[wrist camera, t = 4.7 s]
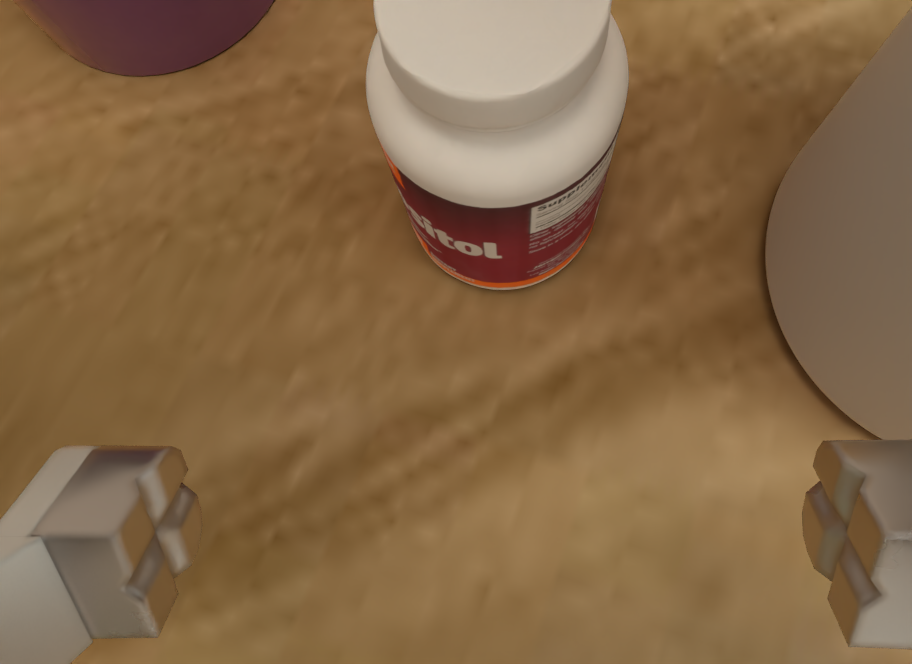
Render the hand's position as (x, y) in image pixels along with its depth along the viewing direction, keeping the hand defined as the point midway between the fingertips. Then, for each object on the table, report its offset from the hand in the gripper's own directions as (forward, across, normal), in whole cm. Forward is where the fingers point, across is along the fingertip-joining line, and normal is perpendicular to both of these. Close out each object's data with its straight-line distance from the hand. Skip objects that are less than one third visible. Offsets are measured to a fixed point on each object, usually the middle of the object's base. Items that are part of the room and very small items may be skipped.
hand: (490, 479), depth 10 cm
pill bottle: (+16, 0, +3) cm, 17 cm away
